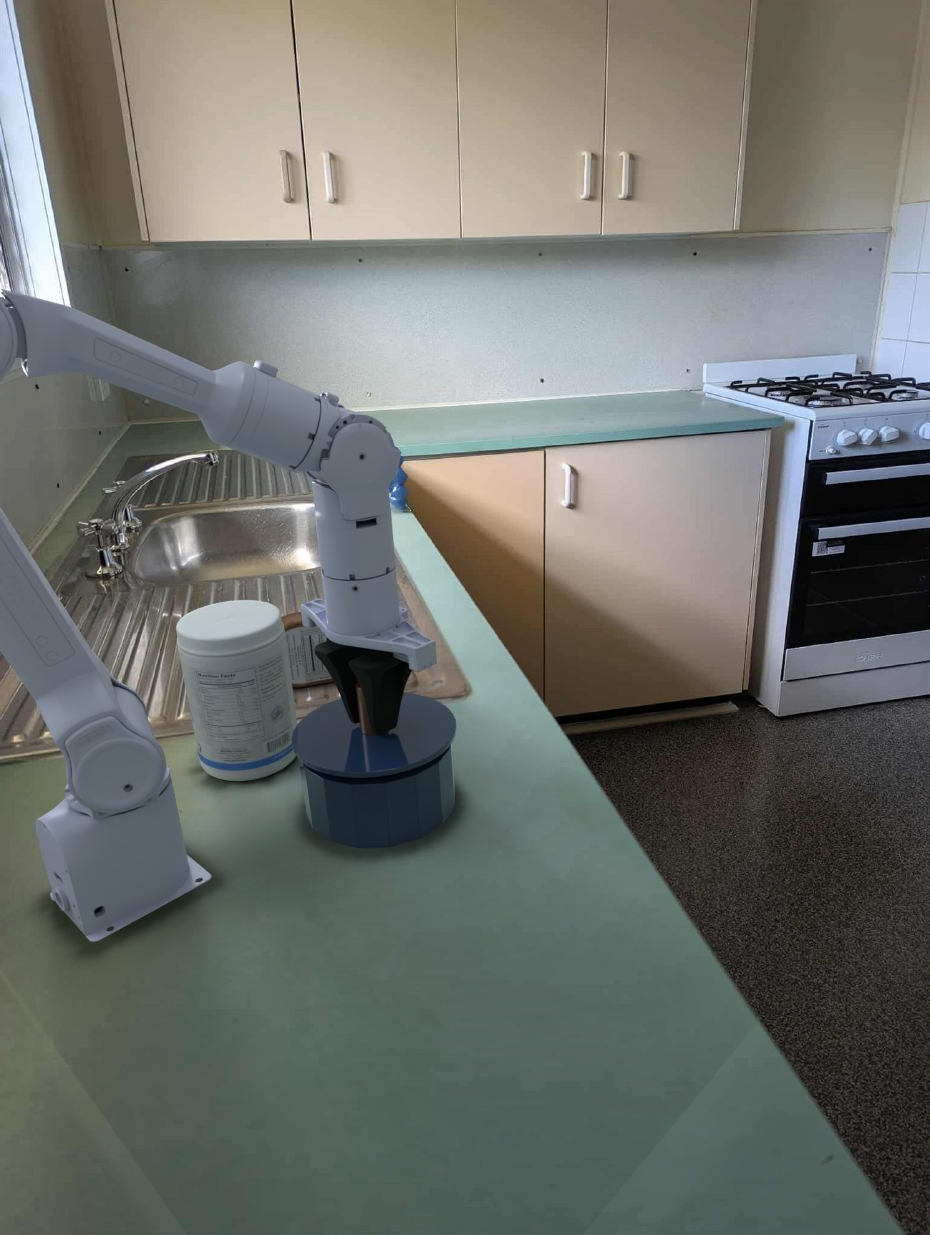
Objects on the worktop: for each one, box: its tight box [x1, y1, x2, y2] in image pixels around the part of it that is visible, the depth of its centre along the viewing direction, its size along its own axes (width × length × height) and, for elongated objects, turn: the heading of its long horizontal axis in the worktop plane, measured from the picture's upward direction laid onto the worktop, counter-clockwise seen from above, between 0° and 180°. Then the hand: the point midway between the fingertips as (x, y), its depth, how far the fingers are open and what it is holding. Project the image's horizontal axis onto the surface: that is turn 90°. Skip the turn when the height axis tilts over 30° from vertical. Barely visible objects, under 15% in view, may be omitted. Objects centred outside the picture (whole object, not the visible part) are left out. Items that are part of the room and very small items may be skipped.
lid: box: [292, 681, 458, 779], centre depth 72 cm, size 14×14×5 cm
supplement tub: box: [175, 599, 298, 782], centre depth 81 cm, size 10×10×15 cm
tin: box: [281, 611, 334, 688], centre depth 98 cm, size 15×3×8 cm, turn 109°
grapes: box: [389, 445, 410, 511], centre depth 168 cm, size 12×7×12 cm, turn 13°
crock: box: [298, 742, 456, 849], centre depth 74 cm, size 13×13×6 cm
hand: (373, 724), depth 72 cm, fingers closed on lid, 2 cm apart
